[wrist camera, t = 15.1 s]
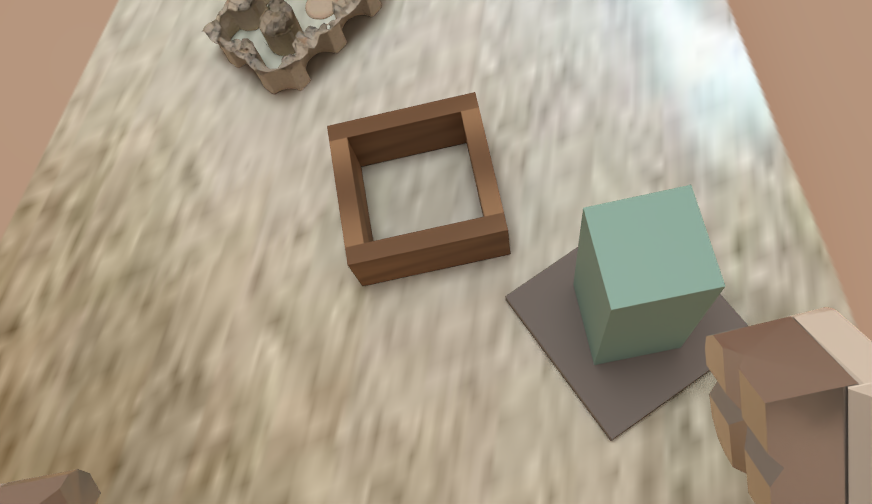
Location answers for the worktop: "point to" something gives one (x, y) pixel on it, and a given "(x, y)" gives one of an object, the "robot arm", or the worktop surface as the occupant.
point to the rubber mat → (618, 380)
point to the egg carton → (284, 35)
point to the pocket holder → (400, 139)
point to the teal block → (644, 274)
